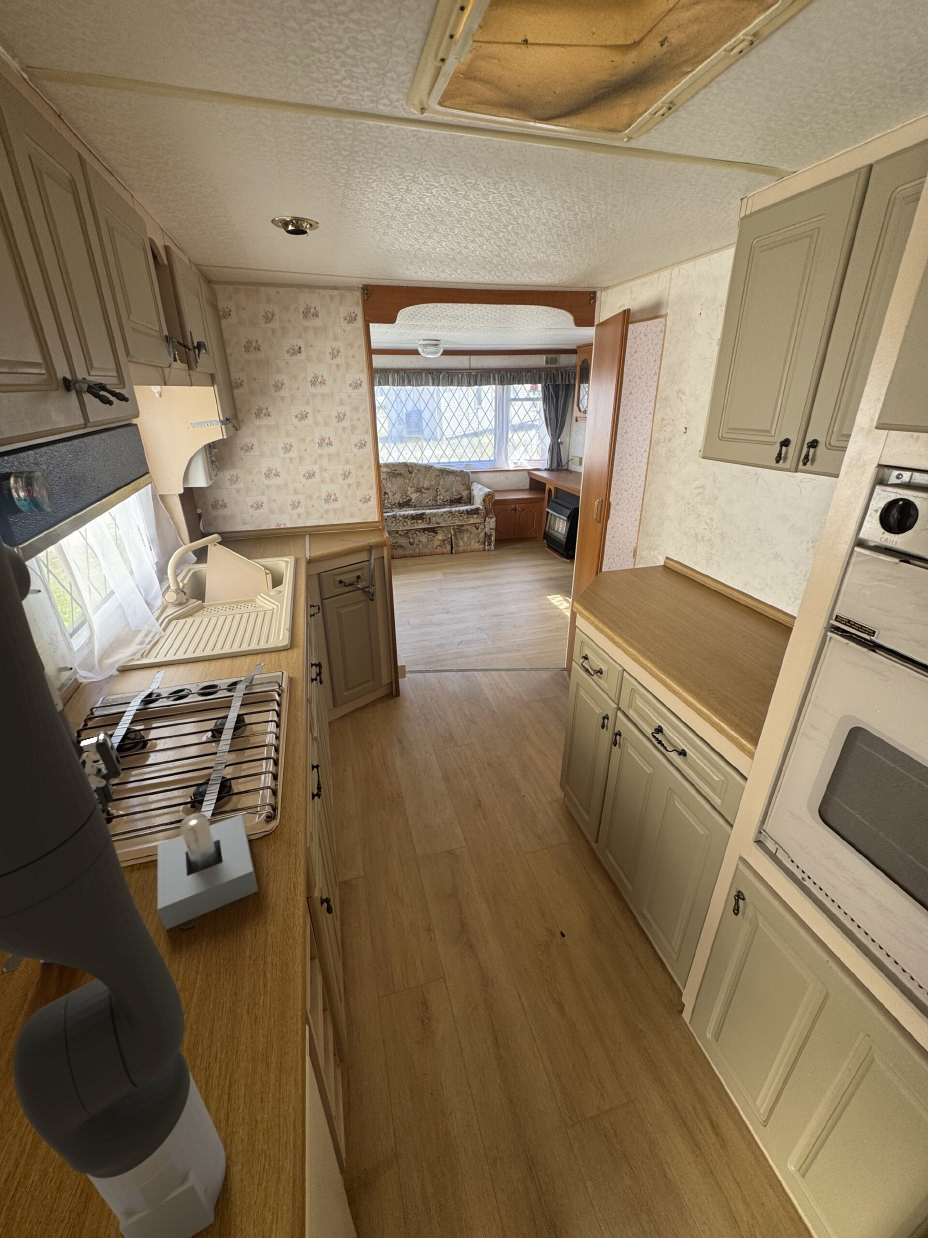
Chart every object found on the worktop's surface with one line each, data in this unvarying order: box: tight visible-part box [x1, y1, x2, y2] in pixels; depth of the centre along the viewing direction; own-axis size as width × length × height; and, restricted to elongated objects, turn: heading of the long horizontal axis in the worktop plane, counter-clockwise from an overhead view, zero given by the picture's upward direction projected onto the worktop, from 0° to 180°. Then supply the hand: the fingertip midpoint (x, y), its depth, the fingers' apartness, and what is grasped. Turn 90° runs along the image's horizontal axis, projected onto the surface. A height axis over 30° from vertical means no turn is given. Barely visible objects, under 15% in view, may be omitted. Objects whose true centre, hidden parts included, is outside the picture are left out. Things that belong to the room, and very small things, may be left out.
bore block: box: [157, 814, 259, 931], centre depth 88 cm, size 14×14×5 cm
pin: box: [179, 812, 220, 873], centre depth 86 cm, size 4×4×12 cm
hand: (68, 816), depth 65 cm, fingers open, 8 cm apart
